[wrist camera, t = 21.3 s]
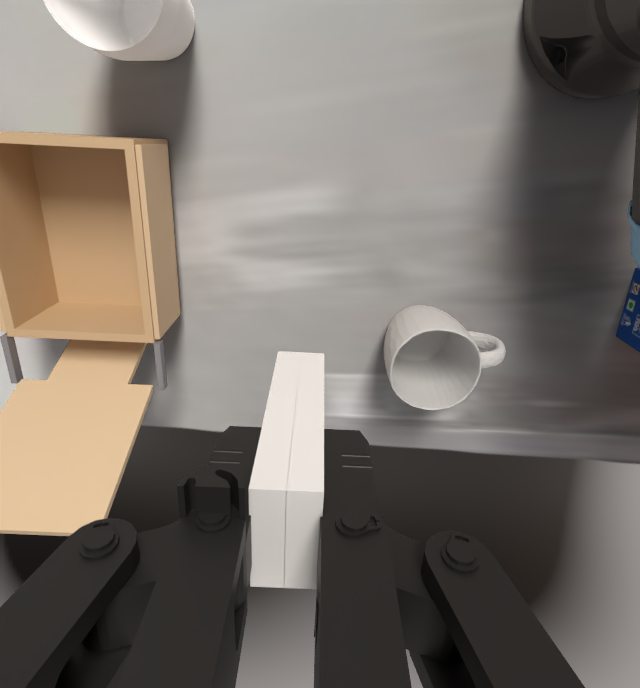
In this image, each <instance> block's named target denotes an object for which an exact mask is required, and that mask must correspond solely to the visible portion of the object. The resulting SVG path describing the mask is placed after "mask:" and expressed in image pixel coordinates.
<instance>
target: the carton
mask: <svg viewBox="0 0 640 688" xmlns="http://www.w3.org/2000/svg"><path fill="white" fill-rule="evenodd" d="M180 312H181V311H180V298H179V285H178V272H177V259H176V245H175V232H174V219H173V206H172V193H171V180H170V166H169V153H168V140H167V139H151V138H132V137H113V136H94V135H74V134H55V133H36V132H9V131H0V327H1V331H2V332H7V333H6V334H4V335H2V336H1V337H0V339H1V343H2V347H3V351H4V355H5V359H6V363H7V367H8V371H9V375H10V379H11V383H19V382H20V381H21V379H23V375H22V371H21V366H20V362H19V358H18V353H17V349H16V345H15V341H14V337H32V338H53V339H74V340H96V341H117V342H138V343H154V354H155V364H156V373H157V383H158V390H165V388H166V387H167V377H166V366H165V356H164V345H163V340H157V339H161V337H162V336H163V335H164V334H165V332H166V331H167V330H168V329H169V328H170V326H171V325H172V324H173V323H174V322H175V320H176V319H177V318H178V317H179V315H180Z"/></svg>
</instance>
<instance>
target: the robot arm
mask: <svg viewBox="0 0 640 688" xmlns="http://www.w3.org/2000/svg"><path fill="white" fill-rule="evenodd" d="M523 28H524V36H525V42H526V46H527V49H528V52H529V55H530V57H531V60H532V62H533V64H534V66H535V67H536V69H537V70H538V72H539V73H540V74H541V76H542V77H543V78H544V79H545V80H546V81H547V82H548V83H549V84H550V85H552V86H553V87H554V88H556V89H558V90H559V91H561V92H563V93H565V94H568V95H571V96H574V97H579V98H603V97H609V96H615V95H620V94H624V93H627V92H630V91H632V90H635V89H637V88H639V97H638V113H637V130H636V147H635V163H634V180H633V196H632V201H630V203H629V207H628V217H629V223H630V224H631V254H632V256H633V258H634V260H635V263H636V264H637V265H638V267H639V268H640V0H525V2H524V11H523ZM177 488H178V500H179V510H180V520H178V521H176V522H174V523H172V524H170V525H168V526H165V527H161V528H158V529H153V530H148V531H143V532H139V533H137V532H136V530H135V528H134V527H133V525H132V524H131V523H129V522H127V521H125V520H123V519H116V518H106V519H101V520H96V521H93V522H91V523H89V524H86V525H84V526H82V527H80V528H79V529H78V530H76V531H75V532H74V533H73V534H71V535H70V536H69V537H68V538H67V539H66V540H65V541H64V542H63V543H62V544H61V545H60V547H58V548H57V549H56V550H55V551H54V552H53V554H52V555H51V556H50V557H49V558H48V559H47V560H46V561H45V562H44V563H43V564H42V565H41V566H40V567H39V568H38V569H37V570H36V571H35V572H34V573H33V574H32V575H31V576H30V577H29V578H28V579H27V580H26V581H25V582H24V583H23V584H22V586H21V587H20V588H19V589H18V590H17V591H16V592H15V593H14V594H13V595H12V596H11V597H10V598H9V599H8V600H7V601H6V602H5V603H4V604H3V605H2V606H1V607H0V688H235V685H236V678H237V671H238V666H239V660H240V653H241V647H242V640H243V635H244V628H245V622H246V615H247V591H248V585H249V579H250V586H253V587H276V588H301V589H317V599H316V614H315V630H314V637H315V664H314V688H411V681H410V675H409V669H408V662H407V656H406V650H405V649H408V650H409V652H410V656H411V658H412V661H413V663H414V666H415V668H416V671H417V673H418V676H419V678H420V681H421V683H422V686H423V688H585V687H584V686H583V684H582V683H581V681H580V680H579V679H578V677H577V675H576V674H575V673H574V671H573V670H572V668H571V667H570V665H569V664H568V662H567V661H566V660H565V658H564V657H563V655H562V654H561V652H560V651H559V649H558V648H557V647H556V645H555V644H554V642H553V641H552V639H551V638H550V636H549V635H548V634H547V632H546V631H545V629H544V628H543V626H542V625H541V623H540V622H539V621H538V620H537V618H536V617H535V615H534V613H533V612H532V611H531V609H530V608H529V606H528V605H527V603H526V602H525V600H524V599H523V598H522V597H521V595H520V593H519V592H518V590H517V589H516V587H515V586H514V585H513V583H512V582H511V580H510V579H509V577H508V576H507V574H506V573H505V572H504V570H503V569H502V567H501V566H500V564H499V563H498V561H497V560H496V559H495V557H494V556H493V554H492V553H491V552H490V551H489V550H488V548H487V547H486V546H485V545H484V544H483V543H482V542H480V541H479V540H477V539H475V538H474V537H472V536H470V535H468V534H465V533H461V532H458V531H442V532H439V533H436V534H433V535H432V537H431V538H430V539H429V540H428V541H427V542H426V543H425V542H422V541H419V540H416V539H413V538H409V537H407V536H404V535H402V534H400V533H398V532H396V531H395V530H393V529H392V528H390V527H389V526H388V525H387V524H386V523H385V522H384V520H383V517H382V516H381V515H380V513H379V510H378V505H377V498H376V491H375V484H374V477H373V471H372V463H371V458H370V450H369V443H368V441H367V440H366V439H365V437H364V436H363V435H362V434H361V432H360V431H356V430H334V429H324V354H323V353H301V352H280V351H278V355H277V360H276V364H275V369H274V374H273V378H272V383H271V388H270V392H269V397H268V401H267V406H266V411H265V415H264V420H263V424H262V428H261V427H239V426H230V427H229V428H227V429H226V430H225V431H224V432H223V433H222V434H221V435H220V436H219V437H218V440H217V443H216V445H215V449H214V452H213V454H212V457H211V459H210V463H209V465H208V466H205V467H202V468H199V469H196V470H193V471H192V472H190V473H189V474H187V475H186V476H184V477H183V478H182V480H181V481H180V482H179V484H178V485H177Z"/></svg>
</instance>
